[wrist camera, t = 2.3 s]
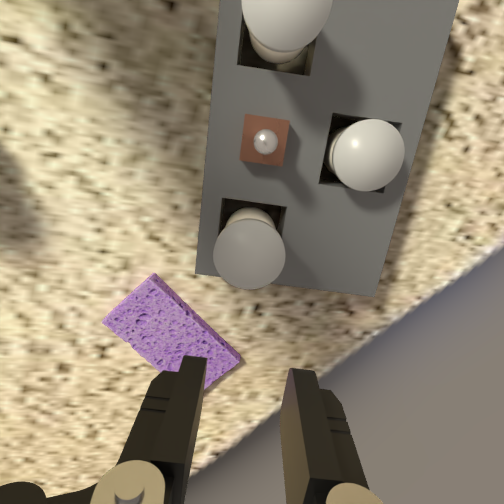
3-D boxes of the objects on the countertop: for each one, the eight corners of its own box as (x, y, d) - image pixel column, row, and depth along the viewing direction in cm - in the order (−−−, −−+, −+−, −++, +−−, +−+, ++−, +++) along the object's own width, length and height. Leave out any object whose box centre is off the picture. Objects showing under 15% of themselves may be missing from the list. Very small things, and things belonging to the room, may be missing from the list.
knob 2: (249, -17, 22) (247, -68, 16) (320, -6, 22) (342, -52, 16) (240, 63, 23) (235, 41, 18) (306, 73, 23) (322, 55, 18)
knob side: (325, 117, 27) (343, 114, 22) (381, 126, 27) (413, 124, 22) (313, 176, 29) (327, 186, 23) (367, 183, 29) (393, 195, 23)
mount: (229, -29, 24) (225, -59, 21) (432, 4, 25) (464, -18, 21) (202, 256, 32) (194, 273, 28) (360, 277, 32) (374, 296, 28)
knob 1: (224, 199, 26) (217, 216, 21) (283, 207, 26) (291, 226, 21) (218, 254, 28) (209, 284, 22) (274, 262, 28) (278, 293, 23)
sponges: (155, 269, 33) (149, 277, 31) (242, 353, 36) (242, 365, 34) (107, 312, 34) (98, 322, 32) (195, 389, 37) (192, 401, 36)
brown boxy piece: (245, 114, 24) (243, 110, 19) (287, 121, 24) (296, 118, 19) (240, 158, 25) (236, 164, 20) (280, 164, 25) (287, 171, 20)
